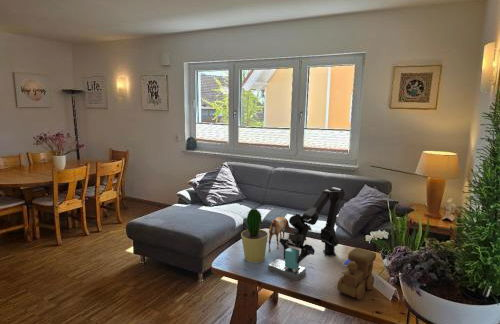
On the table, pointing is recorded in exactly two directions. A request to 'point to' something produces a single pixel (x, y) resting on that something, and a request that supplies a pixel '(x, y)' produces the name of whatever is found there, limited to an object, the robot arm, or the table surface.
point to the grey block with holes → (279, 268)
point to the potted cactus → (254, 238)
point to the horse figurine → (278, 229)
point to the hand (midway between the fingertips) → (290, 261)
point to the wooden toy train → (358, 273)
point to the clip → (291, 259)
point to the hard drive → (346, 262)
